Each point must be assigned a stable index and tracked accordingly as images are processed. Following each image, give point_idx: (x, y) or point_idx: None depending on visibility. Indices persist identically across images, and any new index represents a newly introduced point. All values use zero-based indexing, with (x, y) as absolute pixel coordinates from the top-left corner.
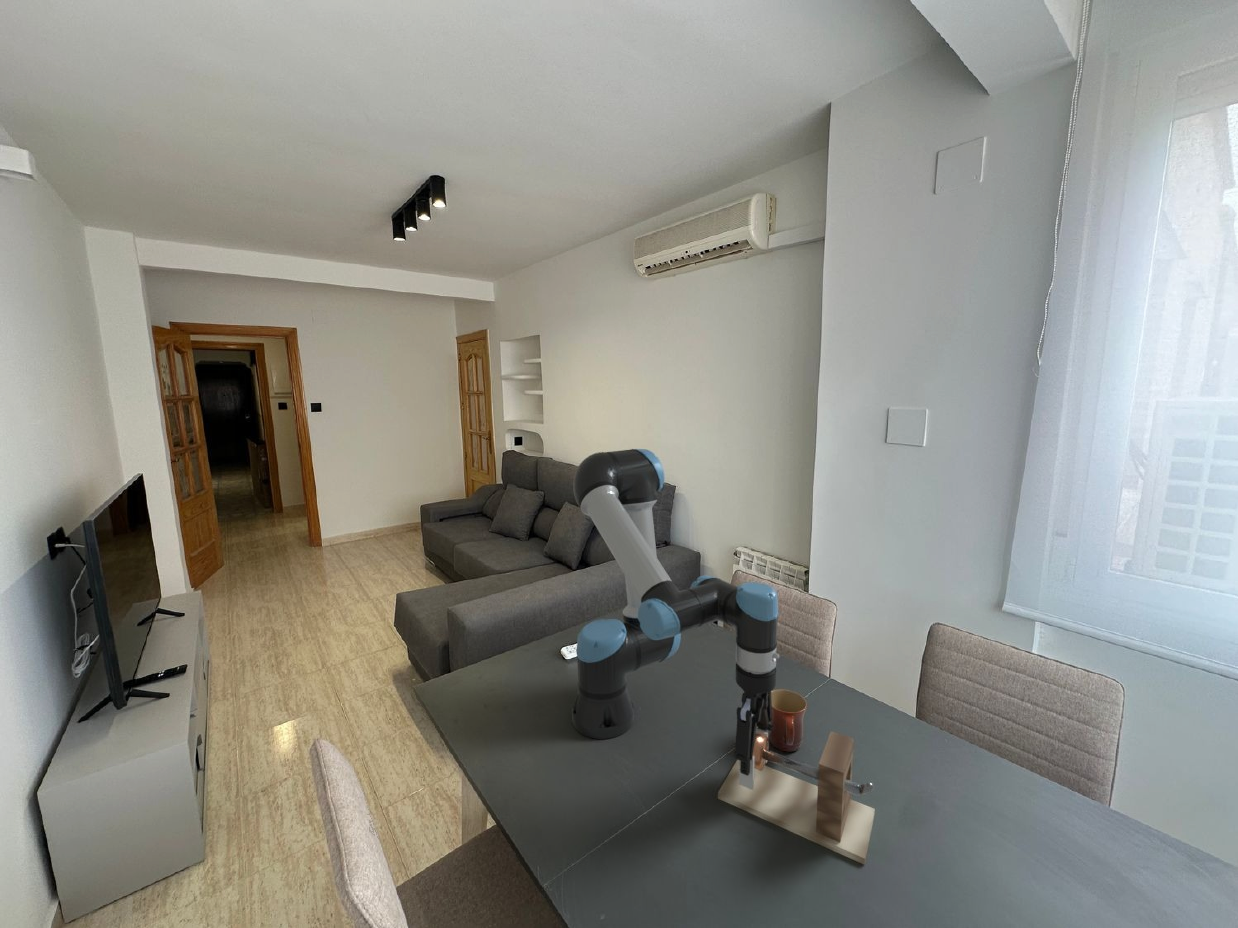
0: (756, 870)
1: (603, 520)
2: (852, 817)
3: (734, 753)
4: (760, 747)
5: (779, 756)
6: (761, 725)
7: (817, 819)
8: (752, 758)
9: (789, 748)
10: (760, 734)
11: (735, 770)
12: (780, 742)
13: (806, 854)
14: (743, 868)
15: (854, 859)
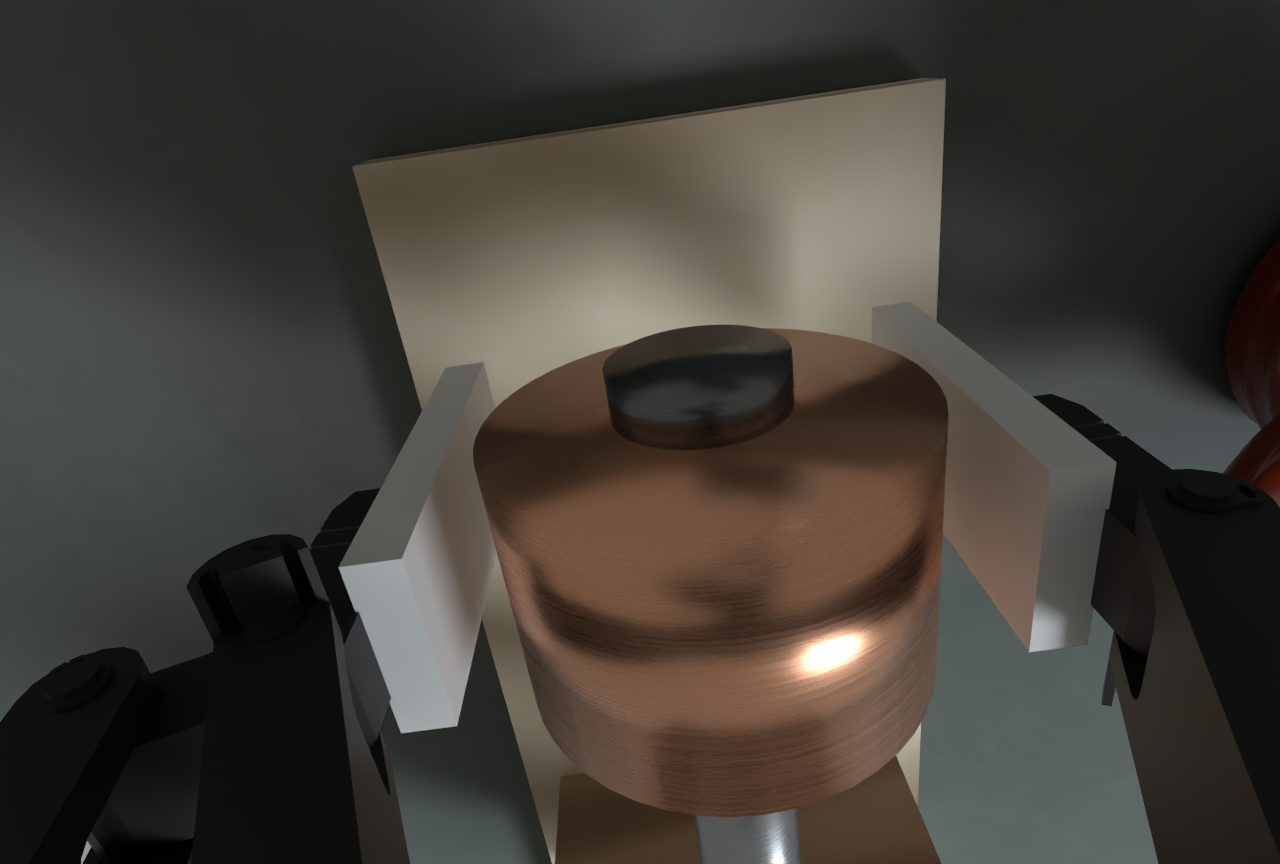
0: (118, 626)
1: None
2: None
3: (201, 570)
4: (615, 776)
5: (736, 820)
6: (1144, 602)
7: (557, 856)
8: (402, 721)
9: (1248, 407)
10: (1013, 537)
11: (720, 152)
12: (1273, 361)
13: (430, 747)
14: (59, 575)
15: None
